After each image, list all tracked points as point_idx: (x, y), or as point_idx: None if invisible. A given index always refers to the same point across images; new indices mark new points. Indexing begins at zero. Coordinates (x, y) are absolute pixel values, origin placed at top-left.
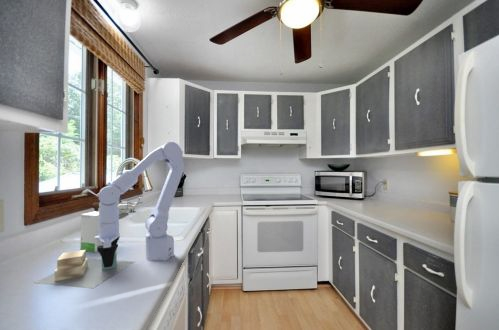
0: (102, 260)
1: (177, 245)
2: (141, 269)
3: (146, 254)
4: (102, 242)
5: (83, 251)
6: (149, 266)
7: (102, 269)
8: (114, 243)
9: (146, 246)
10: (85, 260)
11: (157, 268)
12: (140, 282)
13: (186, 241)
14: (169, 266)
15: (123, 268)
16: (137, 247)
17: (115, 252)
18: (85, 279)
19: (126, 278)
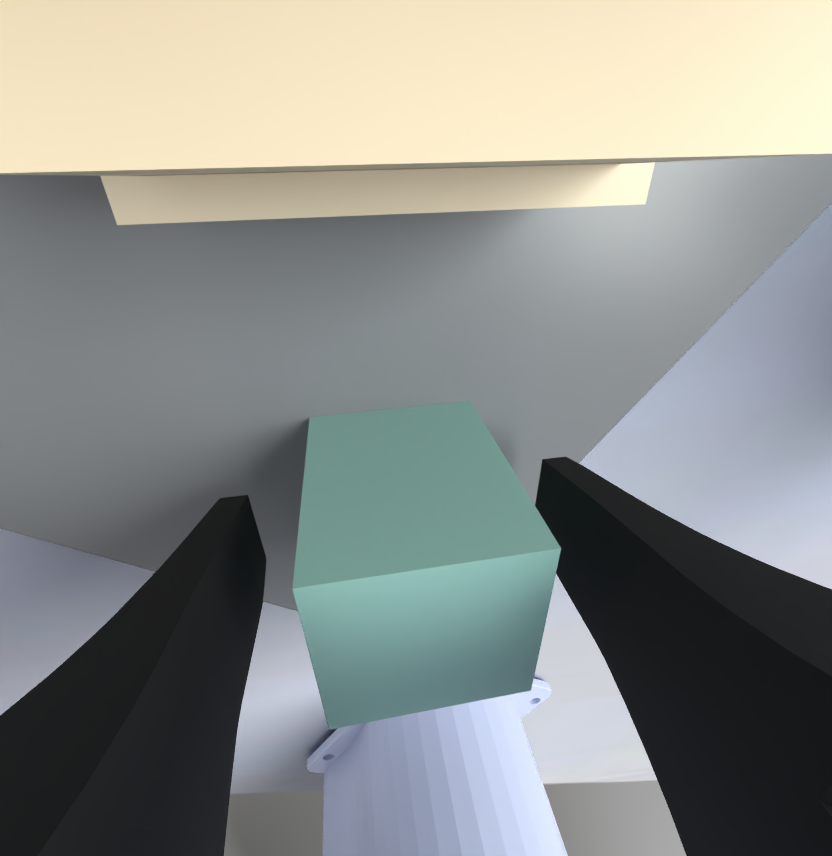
0: (301, 512)
1: (603, 754)
2: (270, 670)
3: (424, 743)
4: (809, 675)
5: (658, 101)
6: (309, 699)
7: (309, 428)
8: (660, 735)
9: (437, 849)
10: (488, 186)
11: (249, 739)
12: (3, 707)
13: (633, 776)
14: (257, 779)
15: (272, 599)
16: (796, 568)
17: (332, 726)
18: (17, 272)
19: (105, 619)
